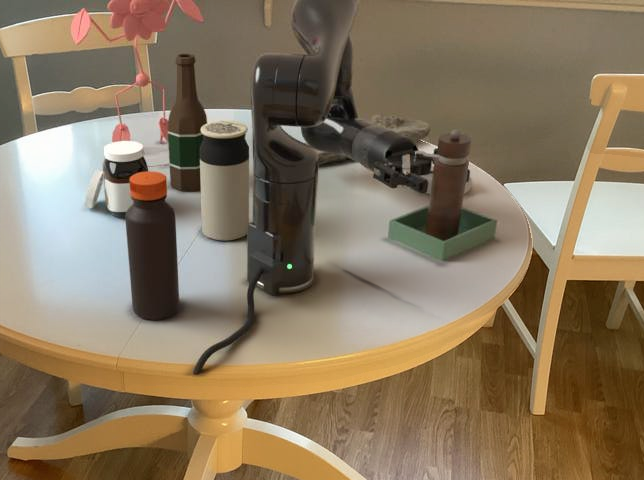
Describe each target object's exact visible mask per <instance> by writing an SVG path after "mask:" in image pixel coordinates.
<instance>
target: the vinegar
mask: <svg viewBox="0 0 644 480" xmlns="http://www.w3.org/2000/svg"><path fill="white" fill-rule="evenodd" d="M129 182H130V194H131V199H132V200H133V204H132V205H131V206H130V208H129V209H128V210H127V212H126V214H125V218H124V219H125V220H124V221H125V231H126V232H125V233H126V243H127V255H128V256H127V257H128V268H129V281H130V293H131V306H132V310H133V313H134V314H135V315H136V316H137V317H140V318H142V319H145V320H151V321H153V320H154V321H158V320H165V319H167V318H171V317H172V316H174V315H175V314H177V312H178V311H179V309H180V288H179V267H178V265H179V263H178V245H177V222H176V211H175V209H174V208H173V207H172V206H171V205H170V204H169V203H168V202H166V199H167V197H168V183H167V176H166V175H165V173H161V172H159V171H152V170H151V171H150V170H148V171H147V172H140V173H136V174H134V175H132V176H131V177H130V179H129Z"/></svg>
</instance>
